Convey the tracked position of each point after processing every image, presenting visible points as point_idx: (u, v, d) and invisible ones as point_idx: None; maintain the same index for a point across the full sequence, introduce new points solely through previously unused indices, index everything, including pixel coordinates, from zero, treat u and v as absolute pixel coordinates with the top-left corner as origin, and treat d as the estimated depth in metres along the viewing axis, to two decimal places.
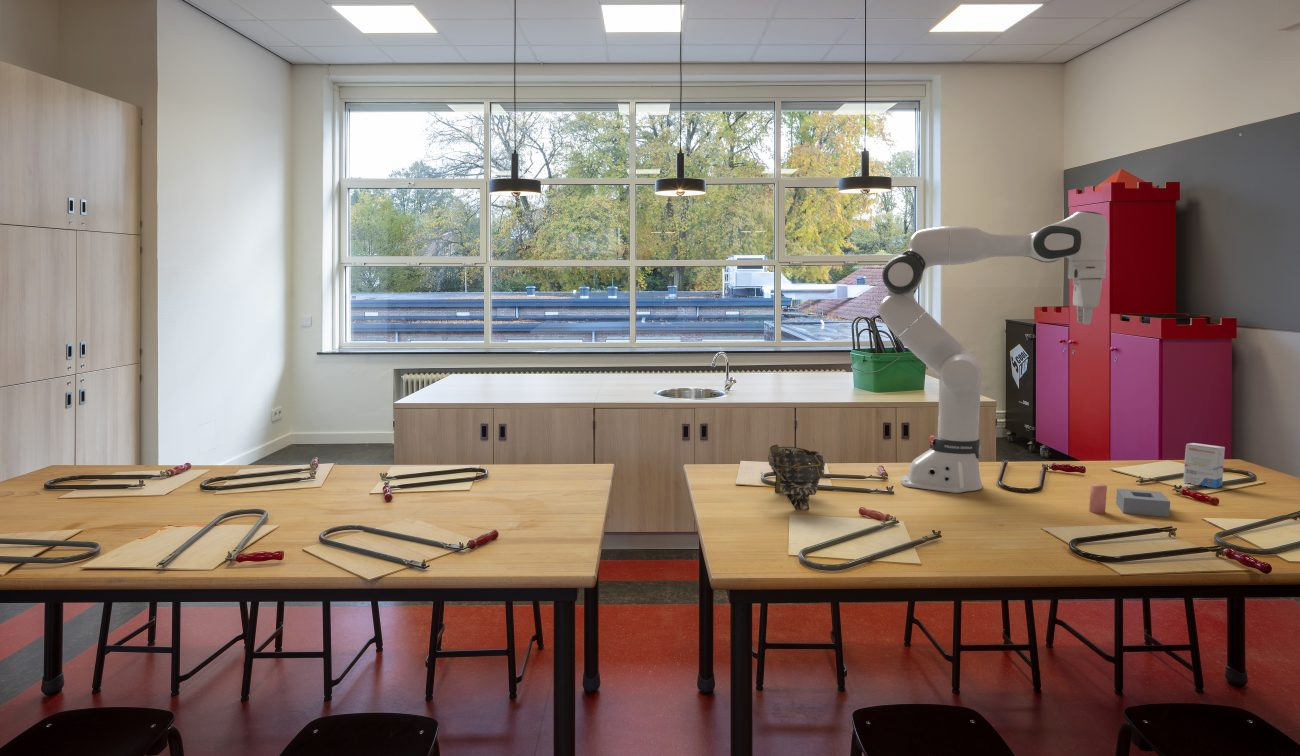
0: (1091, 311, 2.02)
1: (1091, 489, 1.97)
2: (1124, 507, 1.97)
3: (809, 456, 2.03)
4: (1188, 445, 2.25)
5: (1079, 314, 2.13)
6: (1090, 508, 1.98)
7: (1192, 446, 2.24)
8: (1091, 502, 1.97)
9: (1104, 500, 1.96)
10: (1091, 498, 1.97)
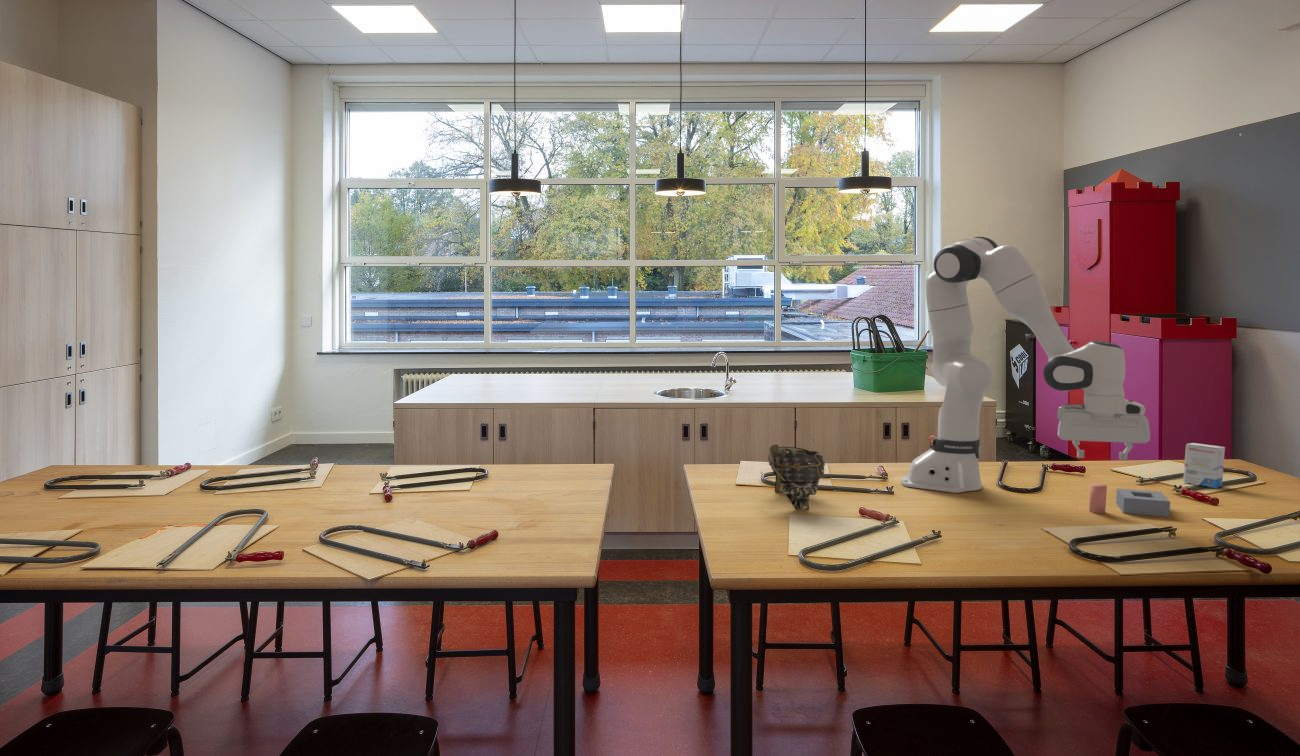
0: None
1: (1091, 489, 1.97)
2: (1124, 507, 1.97)
3: (809, 456, 2.03)
4: (1188, 445, 2.25)
5: None
6: (1090, 508, 1.98)
7: (1192, 446, 2.24)
8: (1091, 502, 1.97)
9: (1104, 500, 1.96)
10: (1091, 498, 1.97)
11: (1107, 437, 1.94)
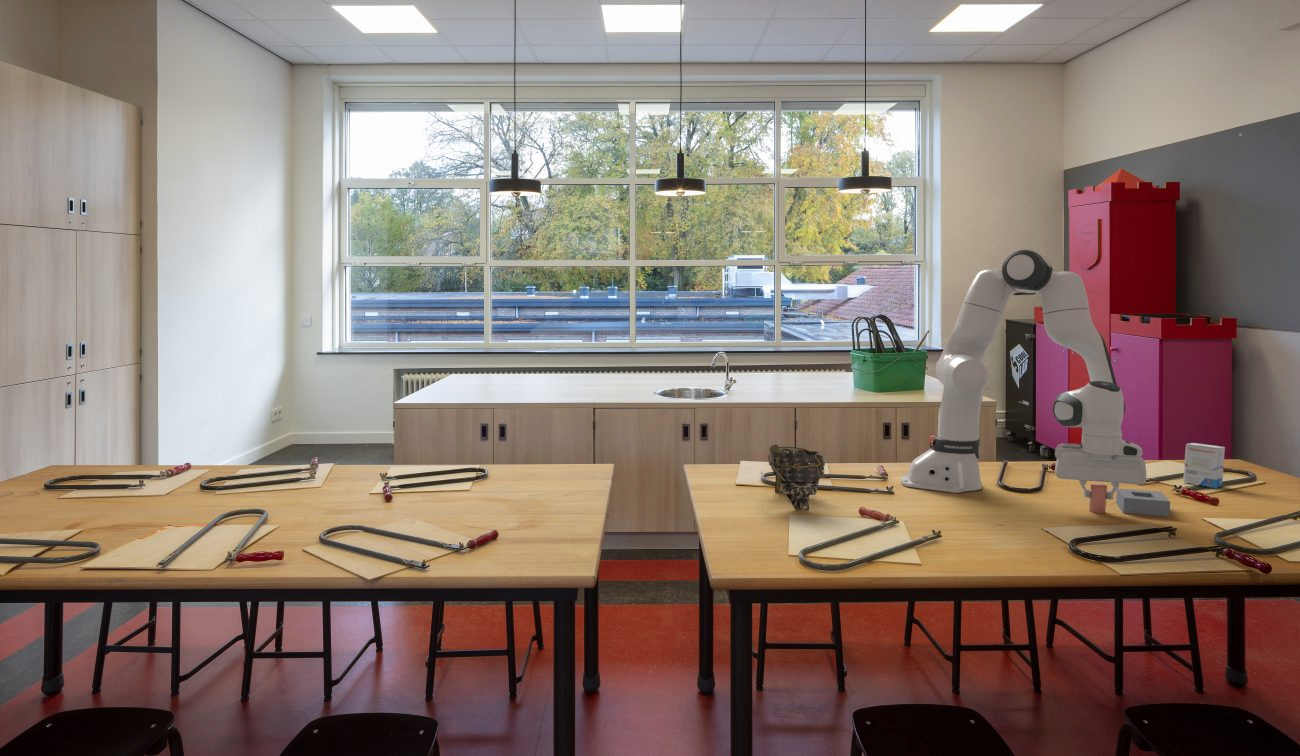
0: None
1: (1091, 489, 1.97)
2: (1124, 507, 1.97)
3: (809, 456, 2.03)
4: (1188, 445, 2.25)
5: None
6: (1090, 508, 1.98)
7: (1192, 446, 2.24)
8: (1091, 502, 1.97)
9: (1104, 500, 1.96)
10: (1091, 498, 1.97)
11: (1104, 477, 1.95)
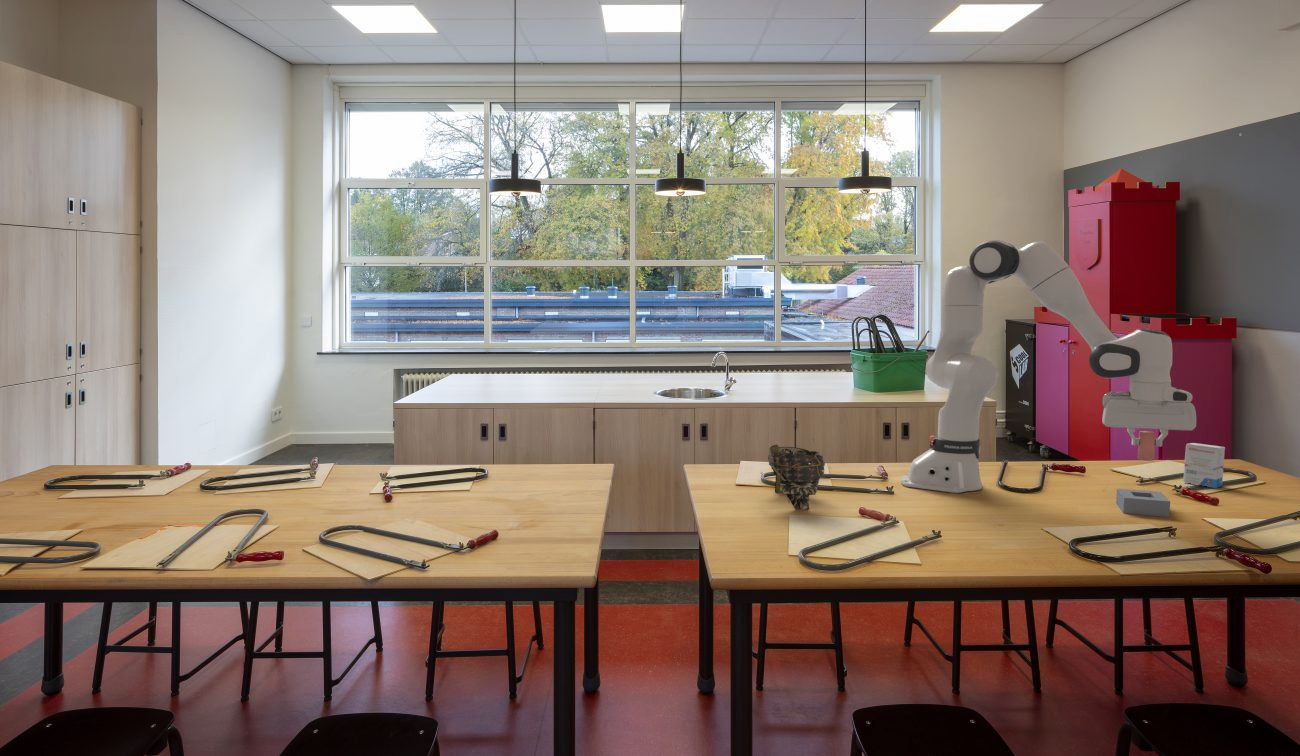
0: None
1: (1140, 436, 1.97)
2: (1124, 507, 1.97)
3: (809, 456, 2.03)
4: (1188, 445, 2.25)
5: (1134, 436, 1.98)
6: (1139, 455, 1.98)
7: (1192, 446, 2.24)
8: (1140, 449, 1.97)
9: (1153, 447, 1.96)
10: (1140, 445, 1.97)
11: (1153, 424, 1.95)
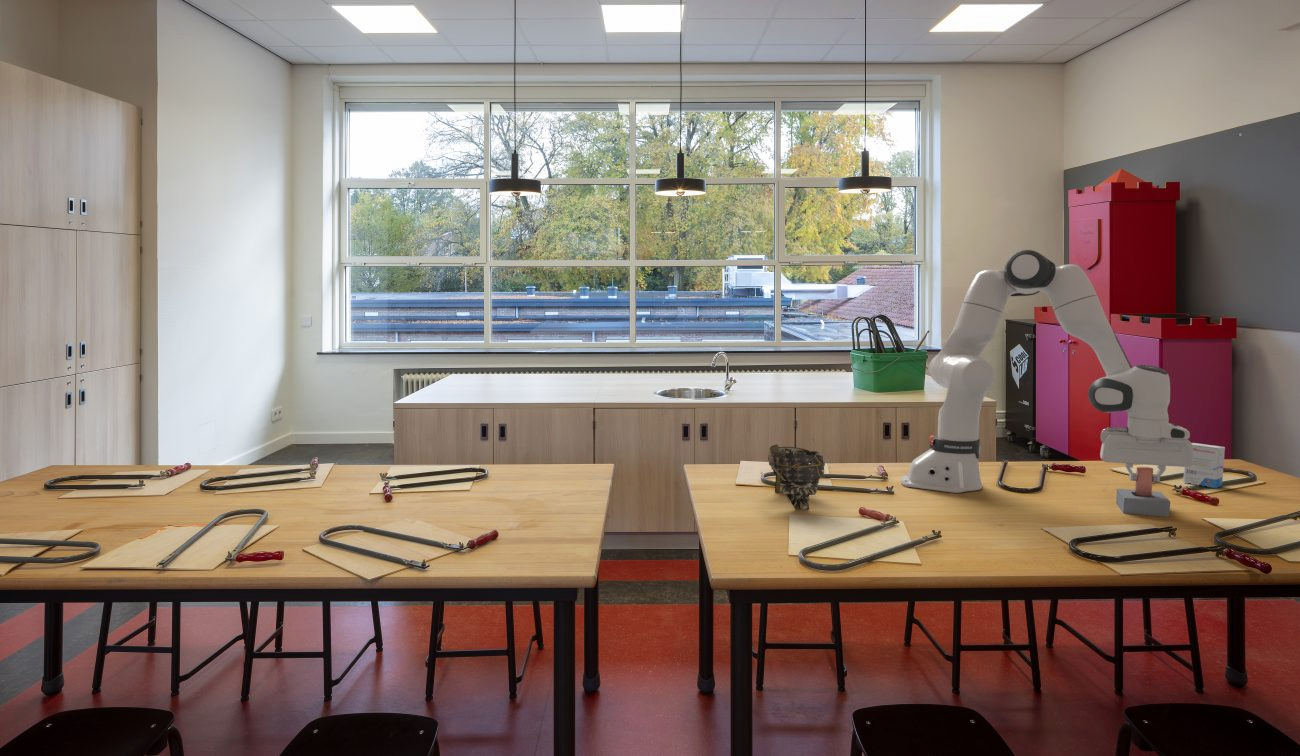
0: None
1: (1137, 472, 1.99)
2: (1124, 507, 1.97)
3: (809, 456, 2.03)
4: None
5: (1132, 472, 1.99)
6: (1136, 491, 1.99)
7: None
8: (1137, 485, 1.99)
9: (1151, 483, 1.97)
10: (1137, 481, 1.99)
11: (1151, 460, 1.96)
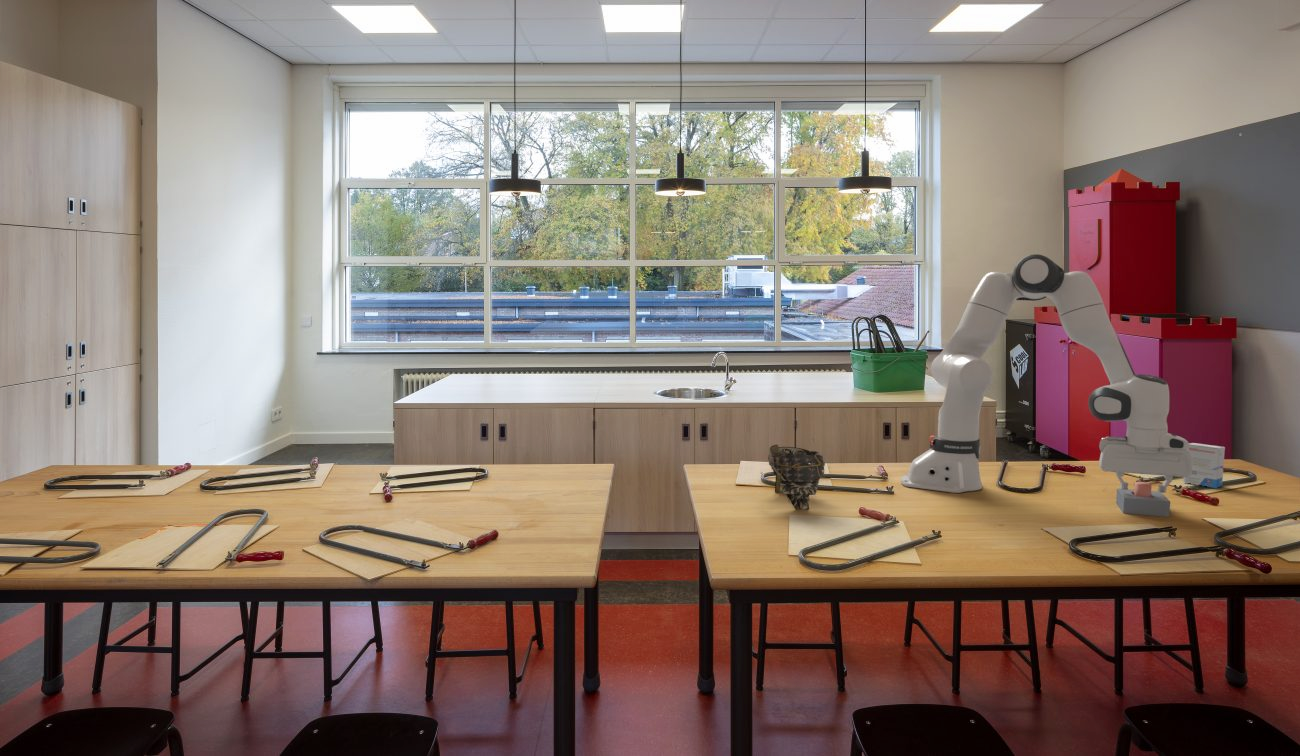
0: None
1: (1136, 487, 1.99)
2: (1124, 507, 1.97)
3: (809, 456, 2.03)
4: None
5: None
6: None
7: (1192, 446, 2.24)
8: None
9: None
10: None
11: (1149, 470, 1.96)
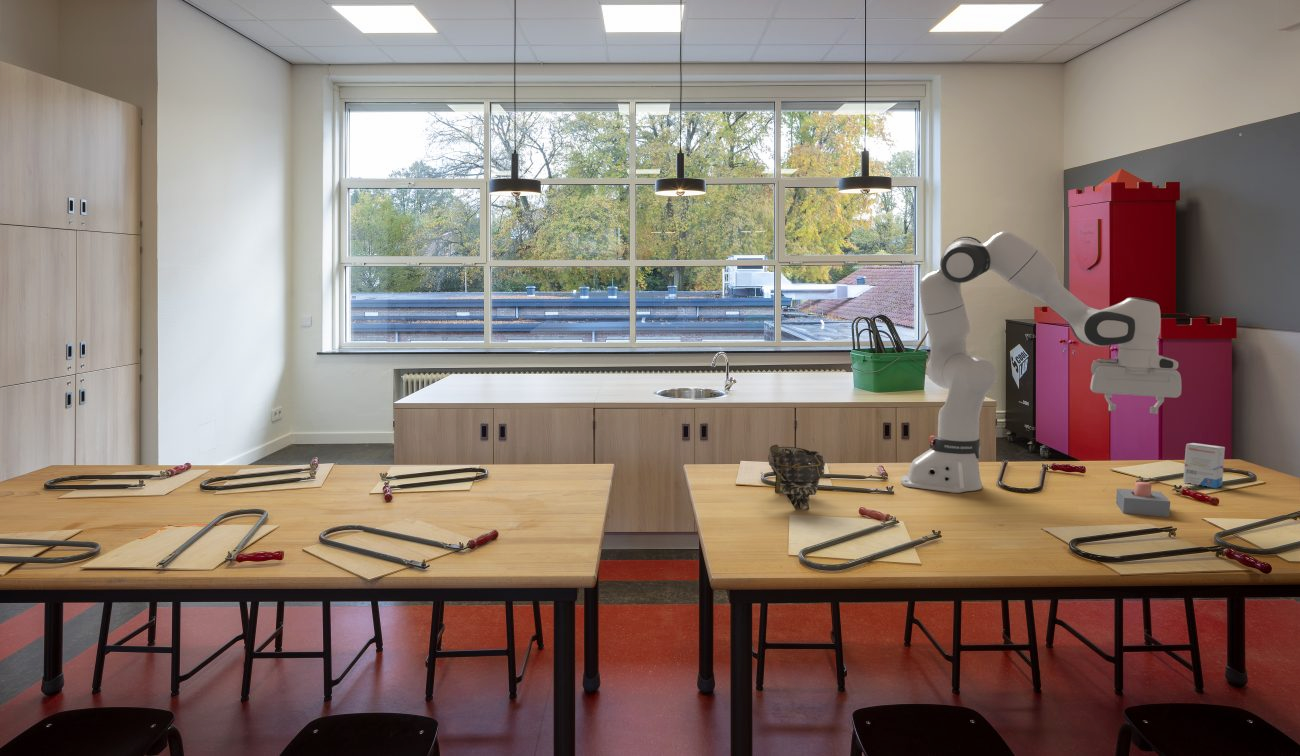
0: None
1: (1136, 487, 1.99)
2: (1124, 507, 1.97)
3: (809, 456, 2.03)
4: (1188, 445, 2.25)
5: (1111, 402, 2.03)
6: None
7: (1192, 446, 2.24)
8: None
9: None
10: None
11: (1139, 391, 2.00)
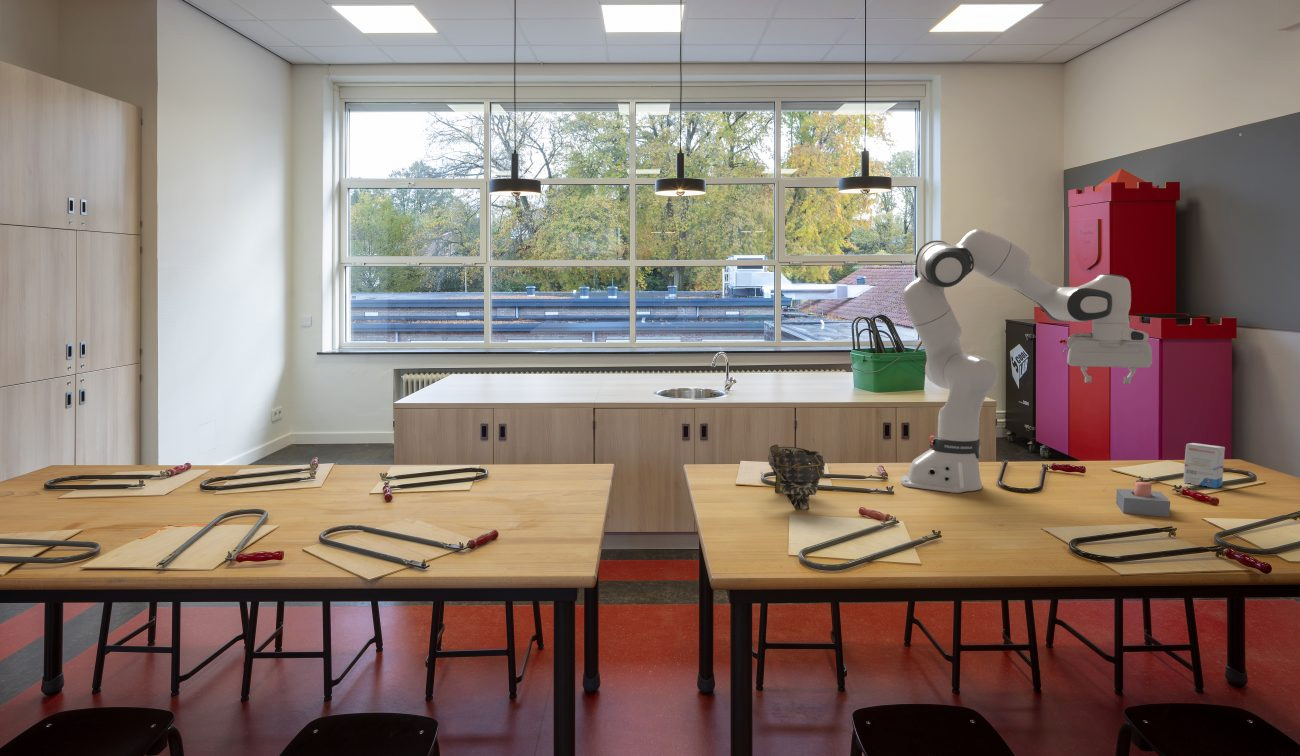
0: None
1: (1136, 487, 1.99)
2: (1124, 507, 1.97)
3: (809, 456, 2.03)
4: (1188, 445, 2.25)
5: None
6: None
7: (1192, 446, 2.24)
8: None
9: None
10: None
11: (1113, 362, 2.11)
